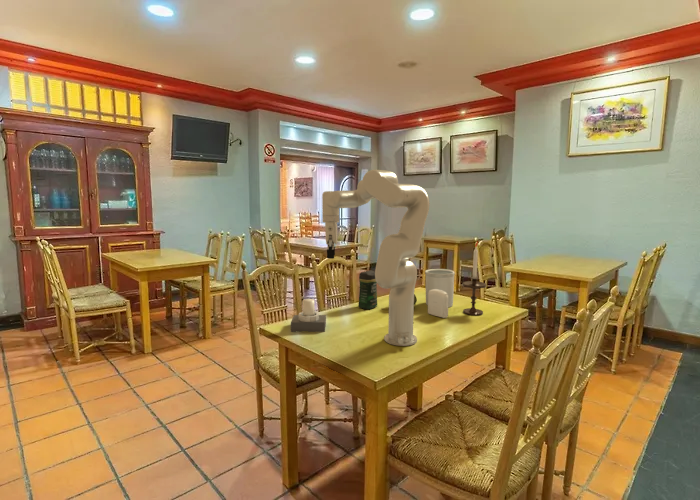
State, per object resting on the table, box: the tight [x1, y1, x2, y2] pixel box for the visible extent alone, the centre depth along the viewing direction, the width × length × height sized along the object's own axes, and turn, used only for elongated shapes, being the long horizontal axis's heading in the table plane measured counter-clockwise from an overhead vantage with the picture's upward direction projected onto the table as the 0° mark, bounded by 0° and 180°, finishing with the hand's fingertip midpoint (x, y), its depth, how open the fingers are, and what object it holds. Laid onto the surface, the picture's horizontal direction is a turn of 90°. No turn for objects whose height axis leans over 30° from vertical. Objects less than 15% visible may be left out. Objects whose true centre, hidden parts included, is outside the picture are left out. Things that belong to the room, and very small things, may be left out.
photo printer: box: [427, 289, 449, 319], centre depth 183 cm, size 10×4×12 cm, turn 39°
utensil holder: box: [424, 268, 455, 308], centre depth 202 cm, size 15×15×18 cm
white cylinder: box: [302, 298, 316, 316], centre depth 165 cm, size 5×5×8 cm
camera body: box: [290, 311, 327, 333], centre depth 166 cm, size 10×14×6 cm
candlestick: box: [461, 240, 487, 317], centre depth 186 cm, size 11×11×35 cm
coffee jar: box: [358, 269, 378, 310], centre depth 196 cm, size 10×8×19 cm
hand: (331, 256), depth 178 cm, fingers open, 9 cm apart
